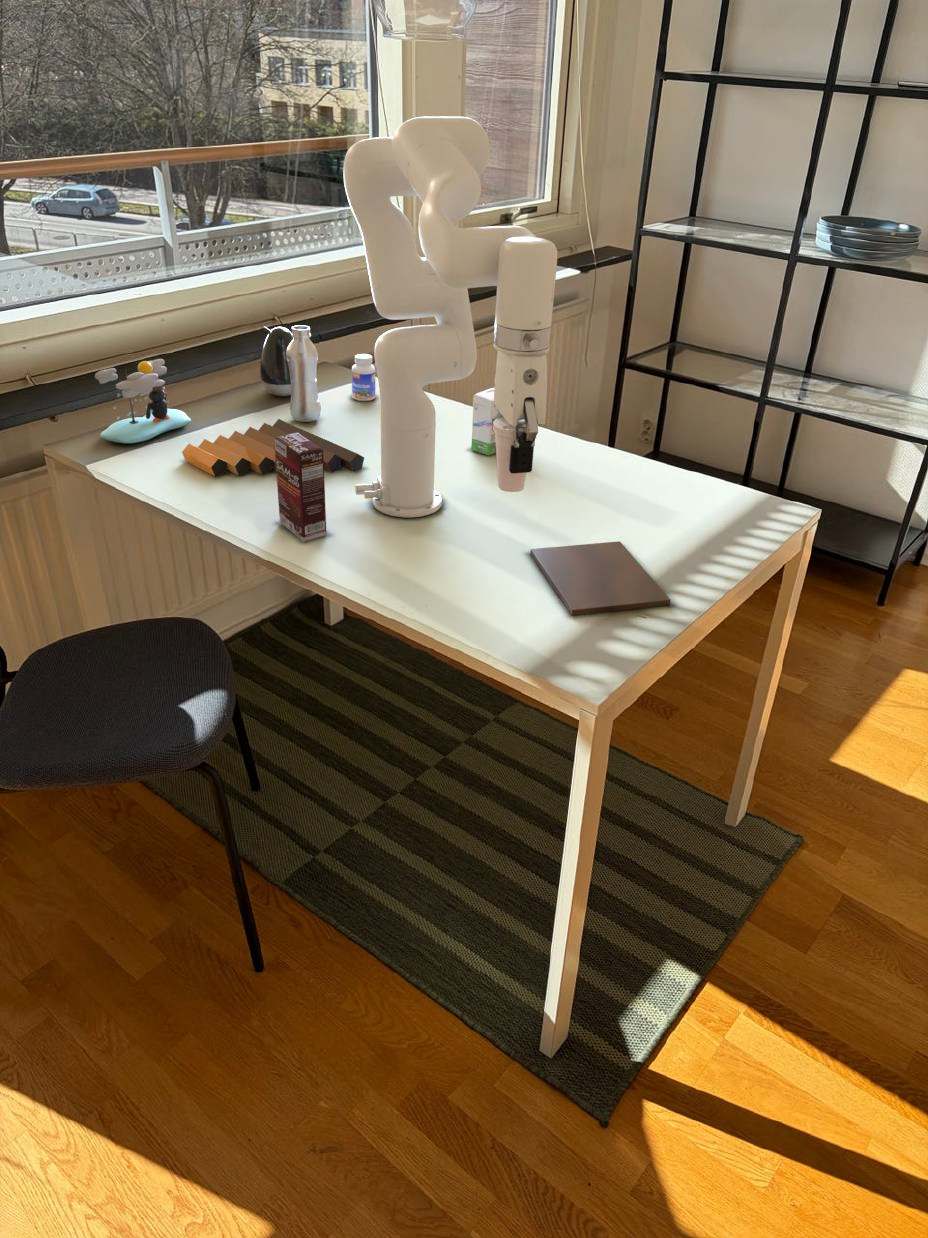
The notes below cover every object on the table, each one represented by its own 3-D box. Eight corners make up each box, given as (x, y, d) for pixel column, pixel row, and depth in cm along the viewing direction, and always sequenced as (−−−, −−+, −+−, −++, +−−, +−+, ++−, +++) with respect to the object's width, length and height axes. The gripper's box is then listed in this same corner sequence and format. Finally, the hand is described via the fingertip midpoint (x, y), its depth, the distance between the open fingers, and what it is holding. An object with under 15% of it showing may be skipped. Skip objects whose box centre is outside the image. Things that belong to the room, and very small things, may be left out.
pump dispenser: (282, 382, 230) (278, 318, 222) (314, 392, 225) (311, 326, 217) (251, 393, 223) (246, 327, 215) (283, 403, 218) (279, 335, 210)
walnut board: (571, 615, 143) (572, 610, 142) (530, 554, 159) (530, 548, 159) (669, 605, 147) (670, 599, 146) (619, 546, 163) (619, 541, 162)
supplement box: (278, 523, 165) (272, 436, 157) (302, 517, 168) (298, 430, 159) (302, 543, 159) (298, 453, 151) (328, 536, 162) (324, 447, 154)
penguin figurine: (169, 413, 209) (161, 344, 201) (202, 425, 204) (195, 354, 196) (90, 438, 195) (77, 364, 187) (123, 451, 190) (112, 376, 182)
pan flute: (364, 467, 188) (286, 432, 202) (364, 451, 186) (285, 416, 200) (259, 502, 172) (182, 461, 186) (258, 485, 170) (180, 445, 185)
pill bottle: (349, 400, 221) (348, 358, 216) (355, 392, 226) (354, 351, 221) (372, 402, 220) (371, 360, 215) (377, 395, 225) (377, 353, 220)
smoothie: (493, 475, 143) (499, 383, 135) (535, 480, 142) (544, 388, 134) (485, 492, 137) (491, 398, 130) (529, 498, 136) (537, 403, 129)
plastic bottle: (319, 425, 206) (315, 332, 196) (287, 424, 206) (282, 330, 196) (323, 415, 212) (319, 324, 201) (292, 414, 212) (287, 322, 201)
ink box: (488, 456, 195) (492, 400, 189) (469, 450, 198) (472, 394, 192) (513, 445, 201) (517, 390, 195) (494, 439, 204) (498, 385, 197)
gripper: (570, 355, 122) (557, 485, 131) (529, 319, 136) (519, 438, 145) (514, 356, 120) (505, 488, 129) (478, 320, 134) (472, 441, 144)
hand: (512, 461), depth 137 cm, fingers closed on smoothie, 6 cm apart
